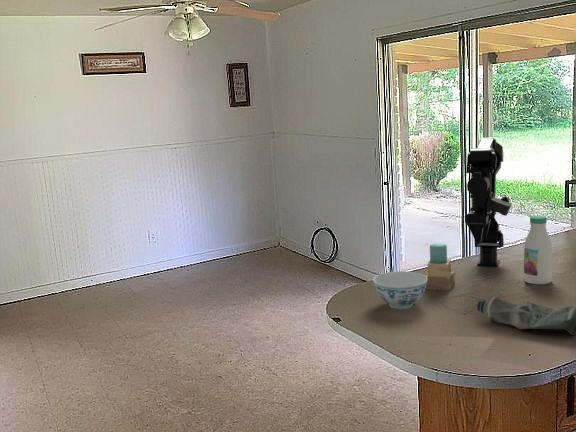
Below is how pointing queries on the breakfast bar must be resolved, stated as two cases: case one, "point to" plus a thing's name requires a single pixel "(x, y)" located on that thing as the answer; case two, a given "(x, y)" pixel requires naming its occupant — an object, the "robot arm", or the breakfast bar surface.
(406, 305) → the chinaware
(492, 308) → the crushed plastic bottle
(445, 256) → the teal cylinder
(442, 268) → the top block
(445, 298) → the breakfast bar surface
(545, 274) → the milk bottle
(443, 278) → the base block
